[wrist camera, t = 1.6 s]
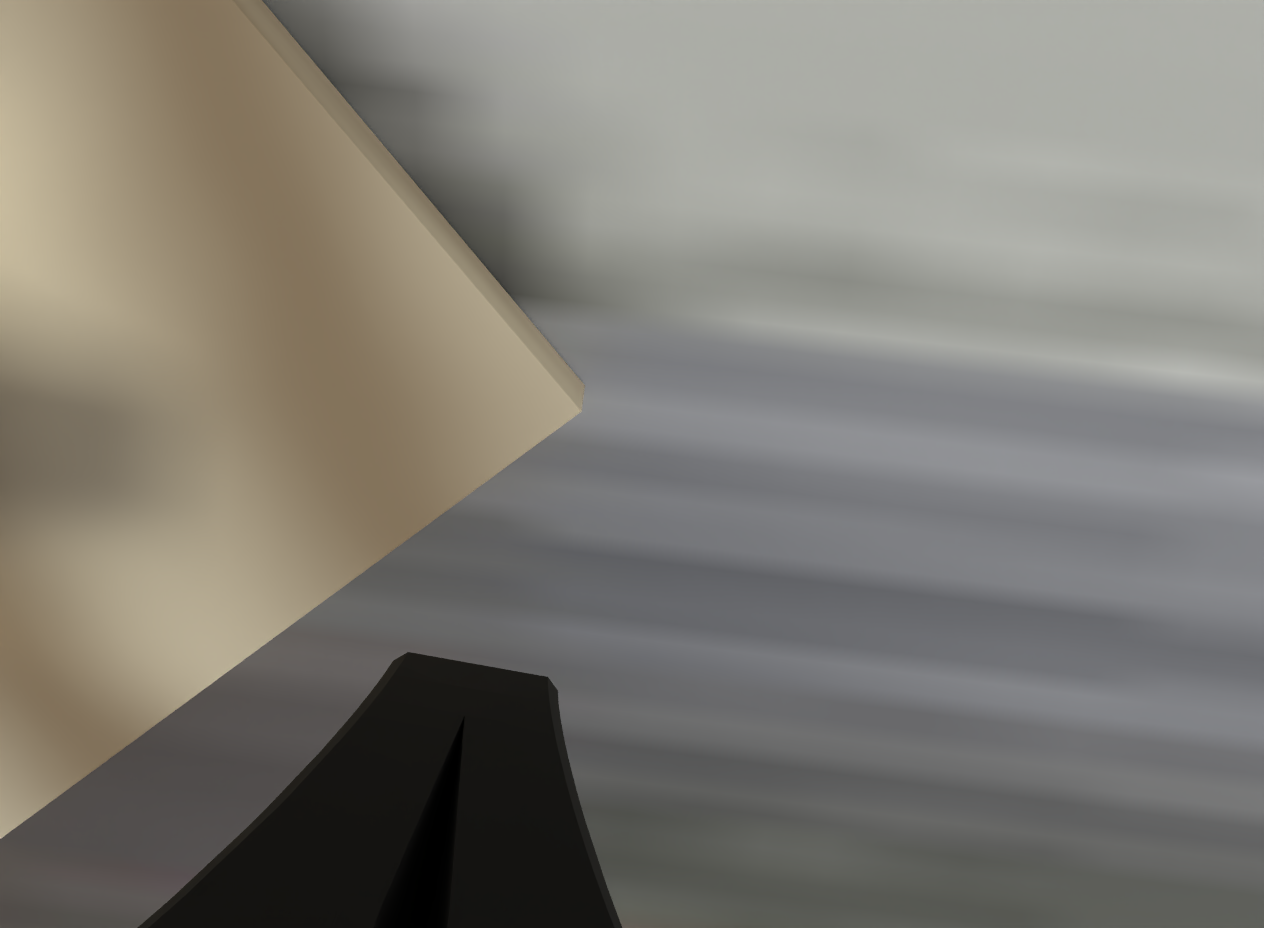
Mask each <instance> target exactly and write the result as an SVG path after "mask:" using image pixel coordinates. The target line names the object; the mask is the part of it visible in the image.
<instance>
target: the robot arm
mask: <svg viewBox="0 0 1264 928" xmlns="http://www.w3.org/2000/svg"><path fill="white" fill-rule="evenodd" d="M138 928H622V926H621V923H620V921H619V918H618V915H617V913H616V910H615V907H614V904H613V902H612V899H611V896H610V894H609V891H608V888H607V885H606V882H605V879H604V876H603V873H602V870H601V867H600V864H599V861H598V858H597V855H596V852H595V849H594V846H593V843H592V840H591V837H590V834H589V831H588V828H587V825H586V822H585V819H584V815H583V812H582V808H581V805H580V801H579V798H578V794H577V791H576V787H575V783H574V779H573V775H572V771H571V767H570V763H569V759H568V755H567V750H566V746H565V741H564V736H563V731H562V725H561V719H560V712H559V704H558V690H557V689H556V688H555V686H554V685H553V683H552V682H551V681H550V679H549V678H548V677H545V676H539V675H533V674H528V673H522V672H517V671H511V670H505V669H500V668H494V667H489V666H483V665H477V664H472V663H466V662H461V661H455V660H449V659H444V658H438V657H433V656H427V655H421V654H416V653H410V652H408V653H406V654H404V655H402V656H401V657H399V658H397V659H395V660H394V661H393V662H392V663H391V665H390V666H389V668H388V669H387V671H386V672H385V674H384V675H383V677H382V678H381V679H380V681H379V682H378V683H377V685H376V686H375V687H374V689H373V690H372V691H371V693H370V694H369V695H368V696H367V698H366V699H365V700H364V701H363V703H362V704H361V705H360V706H359V708H358V709H357V710H356V711H355V712H354V714H353V715H352V716H351V717H350V718H349V720H348V721H347V722H346V723H345V724H344V725H343V726H342V728H341V729H340V730H339V731H338V732H337V733H336V735H335V736H334V737H333V738H332V739H331V740H330V741H329V743H328V744H327V745H326V746H325V747H324V748H323V749H322V751H321V752H320V753H319V754H318V755H317V756H316V757H315V758H314V759H313V760H312V761H311V762H310V763H309V764H308V765H307V766H306V767H305V768H304V770H303V771H302V772H301V773H300V774H299V775H298V776H297V777H296V778H295V779H294V780H293V781H292V782H291V783H290V784H289V785H288V786H287V787H286V788H285V790H284V791H283V792H282V793H281V794H280V795H279V796H278V797H277V798H276V799H275V800H274V801H273V802H272V803H271V804H270V805H269V806H268V807H267V808H266V809H265V810H264V811H263V812H262V813H261V814H260V815H259V816H258V817H257V818H256V819H255V820H254V821H253V822H252V823H251V824H250V825H249V826H248V827H247V828H246V829H245V830H244V831H243V832H242V833H241V834H240V835H239V836H238V837H237V838H236V839H234V840H233V841H232V842H231V843H230V844H229V845H228V846H227V847H226V848H225V849H224V850H223V851H222V852H221V853H219V854H218V855H217V856H216V857H215V858H214V859H213V860H212V861H211V862H210V863H209V864H208V865H207V866H206V867H205V868H203V869H202V870H201V871H200V872H199V873H198V874H197V875H196V876H195V877H194V878H193V879H192V880H191V881H190V882H188V883H187V884H186V885H185V886H184V887H183V888H182V889H181V890H180V891H179V892H178V893H177V894H176V895H175V896H173V897H172V898H171V899H170V900H169V901H168V902H167V903H166V904H164V905H163V906H162V907H161V908H160V909H159V910H158V911H156V912H155V913H154V914H153V915H152V916H151V917H150V918H148V919H147V920H146V921H145V922H144V923H143V924H141V925H140V926H139V927H138Z"/></svg>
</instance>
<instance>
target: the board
mask: <svg viewBox="0 0 1264 928" xmlns="http://www.w3.org/2000/svg"><path fill="white" fill-rule="evenodd" d="M584 387H585V385H584V384H583V383H582V382H581V381H580V379H579V378H578V377H577V376H576V375H575V373H574V372H573V371H572V370H571V369H570V367H569V366H568V365H567V364H566V363H565V361H564V360H563V359H562V358H561V357H560V356H559V354H558V353H557V352H556V351H555V350H554V348H553V347H552V346H551V345H550V344H549V342H548V341H547V340H546V339H545V338H544V336H543V335H542V334H541V333H540V332H539V330H538V329H537V328H536V327H535V326H534V324H533V323H532V322H531V321H530V320H529V319H528V317H527V316H526V315H525V314H524V313H523V311H522V310H521V309H520V308H519V307H518V305H517V304H516V303H515V302H514V301H513V299H512V298H511V297H510V296H509V295H508V293H507V292H506V291H505V290H504V289H503V288H502V286H501V285H500V284H499V283H498V282H497V280H496V279H495V278H494V277H493V276H492V274H491V273H490V272H489V271H488V270H487V268H486V267H485V266H484V265H483V264H482V262H481V261H480V260H479V259H478V258H477V256H476V255H475V254H474V253H473V252H472V251H471V249H470V248H469V247H468V246H467V245H466V243H465V242H464V241H463V240H462V239H461V237H460V236H459V235H458V234H457V233H456V231H455V230H454V229H453V228H452V227H451V225H450V224H449V223H448V222H447V221H446V220H445V218H444V217H443V216H442V215H441V214H440V212H439V211H438V210H437V209H436V208H435V206H434V205H433V204H432V203H431V202H430V200H429V199H428V198H427V197H426V196H425V194H424V193H423V192H422V191H421V190H420V188H419V187H418V186H417V185H416V184H415V183H414V181H413V180H412V179H411V178H410V177H409V175H408V174H407V173H406V172H405V171H404V169H403V168H402V167H401V166H400V165H399V163H398V162H397V161H396V160H395V159H394V157H393V156H392V155H391V154H390V153H389V151H388V150H387V149H386V148H385V147H384V146H383V144H382V143H381V142H380V141H379V140H378V138H377V137H376V136H375V135H374V134H373V132H372V131H371V130H370V129H369V128H368V126H367V125H366V124H365V123H364V122H363V120H362V119H361V118H360V117H359V116H358V115H357V113H356V112H355V111H354V110H353V109H352V107H351V106H350V105H349V104H348V103H347V101H346V100H345V99H344V98H343V97H342V95H341V94H340V93H339V92H338V91H337V89H336V88H335V87H334V86H333V85H332V83H331V82H330V81H329V80H328V79H327V78H326V76H325V75H324V74H323V73H322V72H321V70H320V69H319V68H318V67H317V66H316V64H315V63H314V62H313V61H312V60H311V58H310V57H309V56H308V55H307V54H306V52H305V51H304V50H303V49H302V48H301V47H300V45H299V44H298V43H297V42H296V41H295V39H294V38H293V37H292V36H291V35H290V33H289V32H288V31H287V30H286V29H285V27H284V26H283V25H282V24H281V23H280V21H279V20H278V19H277V18H276V17H275V15H274V14H273V13H272V12H271V11H270V10H269V8H268V7H267V6H266V5H265V4H264V2H263V1H262V0H0V839H1V838H2V837H3V836H5V835H6V834H7V833H9V832H10V831H12V830H13V829H14V828H16V827H17V826H18V825H20V824H21V823H22V822H24V821H25V820H27V819H28V818H29V817H31V816H32V815H33V814H35V813H36V812H37V811H39V810H40V809H41V808H43V807H44V806H46V805H47V804H48V803H50V802H51V801H52V800H54V799H55V798H56V797H58V796H59V795H61V794H62V793H63V792H65V791H66V790H67V789H69V788H70V787H71V786H73V785H74V784H75V783H77V782H78V781H80V780H81V779H82V778H84V777H85V776H86V775H88V774H89V773H90V772H92V771H93V770H95V769H96V768H97V767H99V766H100V765H101V764H103V763H104V762H105V761H107V760H108V759H109V758H111V757H112V756H114V755H115V754H116V753H118V752H119V751H120V750H122V749H123V748H124V747H126V746H127V745H129V744H130V743H131V742H133V741H134V740H135V739H137V738H138V737H139V736H141V735H142V734H143V733H145V732H146V731H148V730H149V729H150V728H152V727H153V726H154V725H156V724H157V723H158V722H160V721H161V720H163V719H164V718H165V717H167V716H168V715H169V714H171V713H172V712H173V711H175V710H176V709H177V708H179V707H180V706H182V705H183V704H184V703H186V702H187V701H188V700H190V699H191V698H192V697H194V696H195V695H197V694H198V693H199V692H201V691H202V690H203V689H205V688H206V687H207V686H209V685H210V684H211V683H213V682H214V681H216V680H217V679H218V678H220V677H221V676H222V675H224V674H225V673H226V672H228V671H229V670H231V669H232V668H233V667H235V666H236V665H237V664H239V663H240V662H241V661H243V660H244V659H245V658H247V657H248V656H250V655H251V654H252V653H254V652H255V651H256V650H258V649H259V648H260V647H262V646H263V645H265V644H266V643H267V642H269V641H270V640H271V639H273V638H274V637H275V636H277V635H278V634H279V633H281V632H282V631H284V630H285V629H286V628H288V627H289V626H290V625H292V624H293V623H294V622H296V621H297V620H299V619H300V618H301V617H303V616H304V615H305V614H307V613H308V612H309V611H311V610H312V609H313V608H315V607H316V606H318V605H319V604H320V603H322V602H323V601H324V600H326V599H327V598H328V597H330V596H331V595H333V594H334V593H335V592H337V591H338V590H339V589H341V588H342V587H343V586H345V585H346V584H347V583H349V582H350V581H352V580H353V579H354V578H356V577H357V576H358V575H360V574H361V573H362V572H364V571H365V570H367V569H368V568H369V567H371V566H372V565H373V564H375V563H376V562H377V561H379V560H380V559H381V558H383V557H384V556H386V555H387V554H388V553H390V552H391V551H392V550H394V549H395V548H396V547H398V546H399V545H401V544H402V543H403V542H405V541H406V540H407V539H409V538H410V537H411V536H413V535H414V534H415V533H417V532H418V531H420V530H421V529H422V528H424V527H425V526H426V525H428V524H429V523H430V522H432V521H433V520H435V519H436V518H437V517H439V516H440V515H441V514H443V513H444V512H445V511H447V510H448V509H449V508H451V507H452V506H454V505H455V504H456V503H458V502H459V501H460V500H462V499H463V498H464V497H466V496H467V495H469V494H470V493H471V492H473V491H474V490H475V489H477V488H478V487H479V486H481V485H482V484H483V483H485V482H486V481H488V480H489V479H490V478H492V477H493V476H494V475H496V474H497V473H498V472H500V471H501V470H503V469H504V468H505V467H507V466H508V465H509V464H511V463H512V462H513V461H515V460H516V459H517V458H519V457H520V456H522V455H523V454H524V453H526V452H527V451H528V450H530V449H531V448H532V447H534V446H535V445H537V444H538V443H539V442H541V441H542V440H543V439H545V438H546V437H547V436H549V435H550V434H552V433H553V432H554V431H556V430H557V429H558V428H560V427H561V426H562V425H564V424H565V423H566V422H568V421H569V420H571V419H572V418H573V417H575V416H576V415H577V414H579V413H580V412H581V411H582V403H583V395H584Z"/></svg>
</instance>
